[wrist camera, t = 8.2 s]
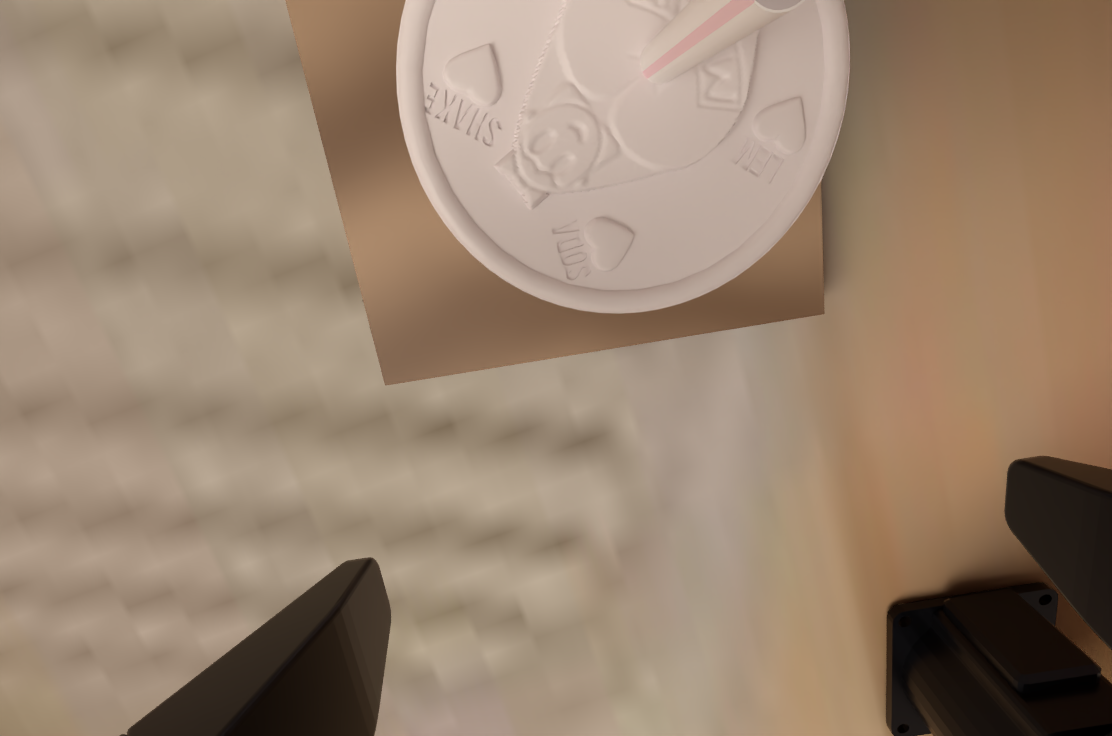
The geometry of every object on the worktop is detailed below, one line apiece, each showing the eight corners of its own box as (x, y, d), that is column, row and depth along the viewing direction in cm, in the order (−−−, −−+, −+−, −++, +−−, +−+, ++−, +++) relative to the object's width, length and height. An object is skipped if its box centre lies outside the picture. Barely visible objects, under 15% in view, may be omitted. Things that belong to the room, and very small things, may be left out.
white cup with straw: (731, 144, 18) (1295, 90, 5) (559, 287, 19) (634, 566, 6) (592, -56, 16) (870, -986, 3) (412, 112, 18) (52, -49, 4)
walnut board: (804, 304, 21) (824, 314, 20) (394, 370, 21) (385, 385, 20) (786, -204, 17) (810, -238, 15) (272, -114, 17) (248, -140, 16)
